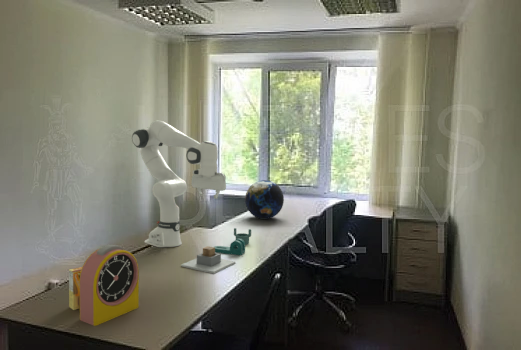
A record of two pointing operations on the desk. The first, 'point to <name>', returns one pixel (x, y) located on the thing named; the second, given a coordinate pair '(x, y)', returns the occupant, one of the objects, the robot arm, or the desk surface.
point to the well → (208, 263)
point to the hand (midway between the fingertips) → (208, 197)
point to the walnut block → (209, 251)
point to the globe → (264, 199)
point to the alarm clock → (108, 285)
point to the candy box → (74, 288)
